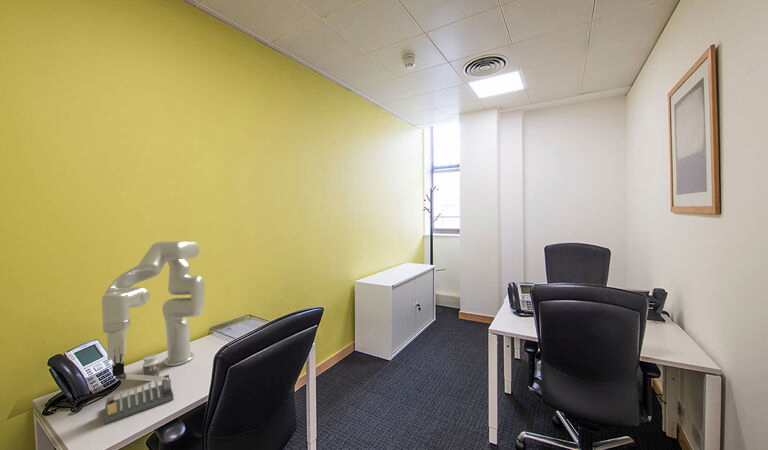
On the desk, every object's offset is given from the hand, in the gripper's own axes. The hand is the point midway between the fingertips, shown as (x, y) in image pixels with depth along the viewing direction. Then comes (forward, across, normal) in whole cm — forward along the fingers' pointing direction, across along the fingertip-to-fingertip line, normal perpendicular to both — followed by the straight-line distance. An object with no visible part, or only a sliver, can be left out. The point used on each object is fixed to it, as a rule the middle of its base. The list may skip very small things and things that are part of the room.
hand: (118, 374), depth 112 cm
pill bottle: (+14, -21, +11) cm, 28 cm away
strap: (+5, -1, +7) cm, 8 cm away
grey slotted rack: (+14, -1, +6) cm, 16 cm away
